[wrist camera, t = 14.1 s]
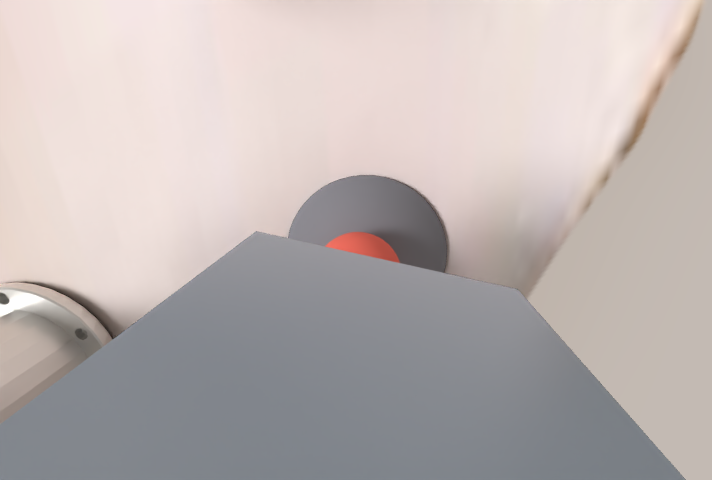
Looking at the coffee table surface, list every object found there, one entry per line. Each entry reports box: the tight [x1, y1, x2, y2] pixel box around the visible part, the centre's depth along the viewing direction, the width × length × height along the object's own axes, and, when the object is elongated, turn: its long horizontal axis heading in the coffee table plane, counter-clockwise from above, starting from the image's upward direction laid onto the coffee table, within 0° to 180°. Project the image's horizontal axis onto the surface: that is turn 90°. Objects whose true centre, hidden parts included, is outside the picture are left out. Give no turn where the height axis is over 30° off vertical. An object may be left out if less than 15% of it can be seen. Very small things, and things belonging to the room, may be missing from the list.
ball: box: [325, 232, 400, 263], centre depth 20 cm, size 5×5×5 cm
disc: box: [288, 175, 447, 273], centre depth 22 cm, size 10×10×1 cm
